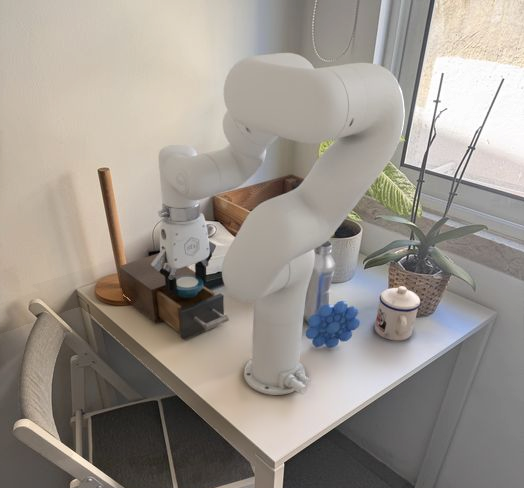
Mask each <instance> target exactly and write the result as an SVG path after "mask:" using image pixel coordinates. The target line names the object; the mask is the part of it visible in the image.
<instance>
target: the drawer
mask: <svg viewBox="0 0 524 488" xmlns="http://www.w3.org/2000/svg"><path fill="white" fill-rule="evenodd" d="M155 297H156V307H157V316H158V317H160V318H161V319H162V320H163V322H165V323H166V324H167V325H169V326H170V327H172V328H173V329H174V330H175V331H176V332H178V333H179V334H180V338H181V340H184V341H185V340H187V339H189V338H190V339H191V338H192V337H194V336H196V335H198V334H201V333H202V332H203V333H204V332H205V331H208V330H210V329H213V328H215V327H218V326H219V325H222V324H224V323H226V322H229V320H230V319H229V316H228V315H227V314H225V310H224V309H225V307H224V304H225V303H224V294H223V293H221V292H219V293H217V294H215V292H214V291H212V290H211V289H209V288H208V287H206V286H205V285H203V289H202V290H201V291H199V292H198V294H197V295H196V296H194V297H190V298H184V297H181V296H179V295H178V294H176V295H173V294H172V293H170V292H169V291H168V290H167V289H166V288H164V289H161V290H158V291H156V292H155Z"/></svg>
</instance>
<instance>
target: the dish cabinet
mask: <svg viewBox="0 0 524 488" xmlns="http://www.w3.org/2000/svg"><path fill="white" fill-rule="evenodd" d="M159 253H160V252H159ZM159 253H156V254H152V255H148V256H145V257H143V258H139V259H137V260H134V261H131V262H127V263H124V264H121V265H119V266H118V272H119V279H120V284H121V285H120V286H121V291H122V297H123V298H122V299H123V300H124V301H125V302H127V303H128V304H129V305H130V306H132V307H133V308H134V309H136V310H137V311H139V312H140V313H141V314H142V315H144V316H145V317H146V318H147V319H149V320H150V321H151V322H152V323H154V324H158V323H161V322H164V320H162V319H161V318H160V317H158V316H157V307H156V297H155V292H156V291H158V290H161V289H164V288H166V284H165V276H164V275H162V274H161V273H159V272H158V271H157V270H155V269H154V268H153V267H152V266H151V263H152V262H153V261H154V259H155V258H156V257H157V255H158V254H159ZM164 265H165V263H164V262H163V263H162V264H161V267H162V268H164ZM170 268H171V267H170ZM169 271H170V269H169ZM182 275H194V276H196V274H195V271H194V270H192V269H191V268H189V267H188V266H186V267H183V268H180V269H176V272H175V275H174V278H176V277H178V276H182ZM123 294H124V295H125V296H126V297H128V298H129V299H130V300H131V301H129V300H128V299H127V298H126V297H124V296H123Z"/></svg>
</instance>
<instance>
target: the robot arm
mask: <svg viewBox="0 0 524 488" xmlns="http://www.w3.org/2000/svg"><path fill="white" fill-rule="evenodd" d="M223 100H224V105H225V107H226V111H225V113H224V116H223V119H222V129H223V133H224V136H225V138H226V139H227V142H228V143H229V144H228V145H227V146H226V147H224V148H222V149H217V150H213V151H210V152H205V153H203V154H202V153H201V154H198V153H197V151H196V149H195V148H194V147H192V146H189V145H186V144H171V145H170V144H169V145H166V146H163V147H162V148H161V149H160V150H159V151H158V155H157V156H158V157H157V158H158V170H159V179H160V191H161V192H160V193H161V203H162V204H161V209H160V210H158V211H157V214H158V216H159V218H161V219H160V227H159V254H158V253H157V254H158V255H157V257H156V258H155V259H154V261H153V262H152V263H151V266H152V267H153V268H154V269H155V270H157V271H158V272H159V273H161V274H162V275H164V276H165V284H166V289H167V290H168V291H169V292H170V293H172V294H173V295H176V294H177V282H176V278H174V275H175V272H176V269H180V268H183V267H188V266H191V265H194V270H195V271H194V272H195V274H196V276H198V277H200V278H201V279H202V280H203V285H205V284H207V268H208V266H209V262H210V260H211V258H212V257H213V254H214V251H215V250H216V249H217V245H216V243H213V242H212V241H210V240H209V231H208V226H207V222H206V219H205V214H204V213H202V212H201V200H204V199H206V198H210V197H213V196H215V195H218V194H222V193H225V192H229V191H232V190H234V189H235V190H236V189H237V188H239V187H241V186H242V185H244V184H245V183H246V182H247V181H249V179H251V178H252V177H253V176H254V175H255V174H256V173H257V172H258V171H259V170H260V169H261V168H262V166H263V164H264V163H265V159H266V156H267V155H266V154H267V150H268V148H269V147H270V146H271V145H273V143H274V142H275V141H276V140H277V139H278V138H281V139H287V140H291V141H294V142H298V143H302V144H310V145H311V144H312V145H313V144H315V145H316V144H321V143H323V144H324V143H326V142H331V141H333V142H332V144H331V145H329V146H328V147H327V148H326V150H324V151H323V152H322V154H321V155H319V157H318V158H317V160H315V162H314V164H313V166H312V168H311V170H310V171H309V172H308V173H307V175H306V177H304V179H303V181H302V182H300V183H301V184H300V185H299V186H298V187H297V188H296V189H294V190H293V189H292V190H290V191H288V192H286V193H282V194H280V195H277V196H275V197H272V198H269V199H266V200H265V201H262V202H261V203H259V204H258V205H256V207H254V208H253V209H252V210H251V211H250V212H249V214H248V215H247V217H246V218H245V220H244V221H243V223H242V224H241V226H240V228H239V229H238V231H237V233H236V235H235V237H234V238H233V239H232V242H231V243H230V245H229V247H228V249H227V250H226V253H225V255H224V257H223V260H222V263H221V264H222V265H221V278H222V282H223V285H224V287H225V290H227V292H228V293H229V294H230V295H231V296H232V297H233V298H234V299H236V300H238V301H241V302H243V303H244V302H245V303H251V302H253V319H252V352H251V353H252V354H251V359H249V360H248V361H247V363H246V364H245V366H244V370H243V371H244V372H243V376H244V380H245V382H246V383H247V385H249V387H250V388H251V389H254V390H255V391H257V392H259V393H262V394H265V395H272V396H282V395H287V394H291V393H293V392H295V391H296V393H298V394H299V395H304V394H305V393H306V392H307V390H308V386H307V385H309V384H310V383H311V378H310V377H308V376H306V370H305V367H304V365H303V363H301V362H300V356H301V344H302V335H303V324H304V317H303V316H304V307H305V299H306V293H307V288H308V285H309V281H310V278H311V275H312V271H313V267H314V261H315V251H314V250H315V248H317V247H319V246H321V245H323V244H324V243H325V242H327V241H329V240H330V239H331V238H332V237H333V235H334V234H335V233H336V231H337V230H338V228H339V227H340V226H341V225H342V224H343V222H344V221H345V220H346V219H347V218H348V216H349V215H350V213H351V212H352V211H353V210H354V208H355V207H356V206H357V205H358V203H359V202H360V200H362V198H363V197H364V195H365V194H366V193H367V192H368V190H369V189H370V188H371V187H372V185H373V184H374V183H375V182H376V180H377V179H378V178H379V176H381V174H382V173H383V171H384V170H385V169H386V168H387V166H388V165H389V163H390V161H391V159H392V158H393V155H395V152H396V150H397V148H398V146H399V143H400V140H401V138H402V134H403V130H404V125H405V101H404V96H403V90H402V89H401V85H400V84H399V81H398V80H397V78H396V77H395V75H394V74H393V73H392V72H391V71H390V70H389V69H388V68H385V67H384V66H382V65H380V64H377V63H370V62H353V63H345V64H338V65H332V66H323V67H316V68H315V67H314V66H313V64H312V63H311V62H310V61H309V60H308V59H307V58H305V57H304V56H302V55H300V54H297V53H292V52H276V53H268V54H260V55H259V54H258V55H250V56H247V57H244V58H241V59H240V60H238V61H237V62H236V63H235V64H233V66H232V67H231V68H230V70H229V71H228V73H227V75H226V77H225V80H224V86H223ZM163 262H164V263H165V265H164V268H162V267H161V264H162V263H163ZM170 267H171V268H170ZM169 269H170V271H169Z"/></svg>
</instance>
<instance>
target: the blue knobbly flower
mask: <svg viewBox="0 0 524 488" xmlns="http://www.w3.org/2000/svg"><path fill="white" fill-rule="evenodd" d="M358 314H359V309H358V308H357V307H356V306H353V305H352V306H348V303H347V302H346V301H344V300H340V301H337V302H336V303H335V304H333V306H332V304H330V303H329V304H326V305H323V306H322V307H321V308H320V309H319V315H318V314H315V315H312V316H311V317H310V318H309V320H308V322H307V325H308V326H309V327H308V328H307V329H306V330H305V337H306V338H307V339H308V340H311V344H312V345H313V346H314V347H315V348H320V347H323V346H324V345H325V347H327V348H328V349H333V348H336V347H337V346H338V344H339V343H340V342H343V343H344V342H348V341H349V340H350V339H351V338H352V336H353V331H355V330H356V329H358V328H359V327H360V324H361V323H360V319H359V318H358V317H357V316H358Z"/></svg>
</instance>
